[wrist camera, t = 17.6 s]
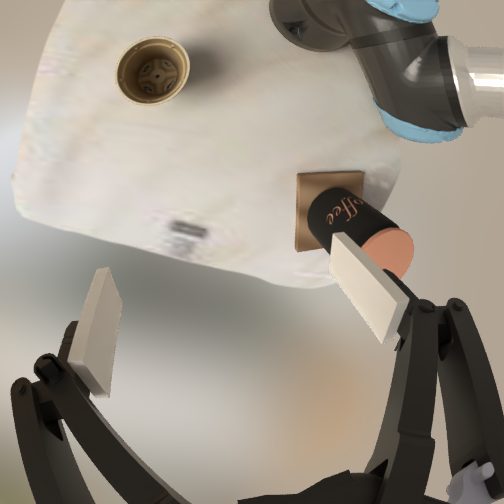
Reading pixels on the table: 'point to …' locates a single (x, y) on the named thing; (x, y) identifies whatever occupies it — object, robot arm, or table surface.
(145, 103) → the flower pot
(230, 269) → the table surface
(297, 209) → the walnut board
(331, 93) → the table surface
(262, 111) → the table surface
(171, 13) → the table surface
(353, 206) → the coffee jar
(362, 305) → the robot arm
